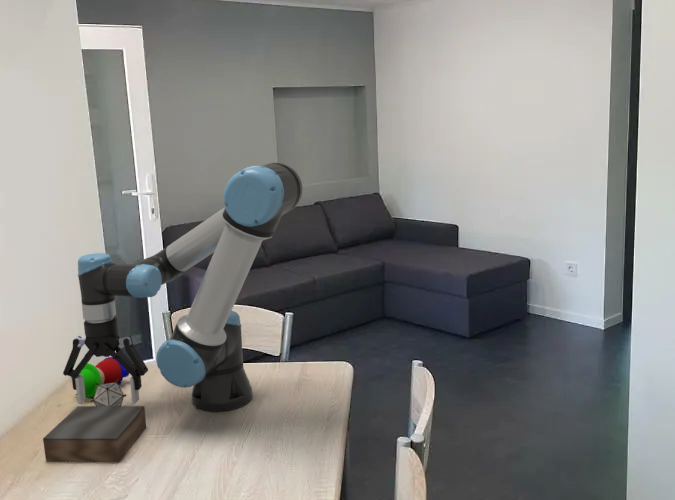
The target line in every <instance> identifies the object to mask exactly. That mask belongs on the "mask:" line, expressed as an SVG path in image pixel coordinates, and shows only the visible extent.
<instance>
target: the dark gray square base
mask: <svg viewBox="0 0 675 500" xmlns="http://www.w3.org/2000/svg"><path fill="white" fill-rule="evenodd" d="M146 429H147V418H146V409H145V405H143V406H142V405H135V406H134V405H128V406H127V405H121V406H96V405H93V406H91V405H90V406H89V405H88V406H86V405H85V406H84V405H83V406H79V405H78V406H76V407H75V408H74V409H73V410H72V411H71V412H70V413H69V414H68V415H66V417H64V418H63V419H62V420H61V421H59V423H58V424H57V425H56V426H55V427H54V428H53V429H51V431H49V432H48V433H47V434H46V435H45V436H44V437H43V438H42V441H43V448H44V449H43V450H44V457H45V463H121V461H122V460H123V459H124V458H125V456H126V455H127V454H128V452H129V451H130V450H131V448H133V446H134V445H135V443H136V442H137V441H138V440H139V438H140V437H141V436H142V434H143V433H144V432H145V430H146Z"/></svg>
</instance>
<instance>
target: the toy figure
mask: <svg viewBox="0 0 675 500" xmlns="http://www.w3.org/2000/svg"><path fill="white" fill-rule="evenodd" d="M79 375H83V378H84V387H85V396H86V399H87V398H88V399H90V400H92V399H94V395H95V392H96V389H97V385H96V383H98V385H101V384H107V383H114V382H116V381H117V379H118V380H119V381H118V382H117V383H118V385H119V386H120V385H121V383H122V382H123V379H124V378H126V377H127V378H128V376H129V375H130V373H129V372H128V371H127V370H126V369H125V368H124V367H123V366H122V365H121V364H120V363H119V362H118V361H117V360H116V359H114V358H113V357H112V356H109V357H106V358H104V359H103V360H101V361H100V362H98V363H97V364H96V365H93V363H89V362H88V363H87V364H86V366H85V367H84V368H83V370H82V371H81V373H80V374H79ZM74 395H76V396H77V393H76V394H74Z"/></svg>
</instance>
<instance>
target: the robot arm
mask: <svg viewBox="0 0 675 500" xmlns="http://www.w3.org/2000/svg"><path fill="white" fill-rule="evenodd" d="M303 188H304V187H303V183H302V179H301V176H300V175H299V174H298V172H297V171H296V170H295V169H294V168H293V167H291V166H290V165H288V164H285V163H282V162H270V163H266V164H263V165H252V166H248V167H245V168H244V169H241V170H240V171H238V172H236V173H235V174H233V176H231V178H230V179H229V180H228V182H227V184H226V185H225V188H224V191H223V204H224V207H223V208H221V209H220V210H218V211H217V212H215V213H214V214H213V215H211V216H210V217H208V218H207V219H206V220H203V221H202V222H201V223H200V224H198V225H197V226H195V227H194V228H192V229H191V230H190V231H188V232H186V233H185V234H183V235H182V236H180V237H179V238H178V239H176V240H175V241H173V242H171V244H169V245H168V246H166V247H164V248H163V249H162V250H160V251H159V252H156V254H153V255H151V256H149V257H146V258H143V259H141V260H139V261H136V262H133V263H132V262H131V263H112V261H113V260H112V258H111V255H110V254H108V253H104V252H99V253H98V252H95V253H88V254H85V255H84V254H83V255H82V256H79V258H78V261H77V272H78V274H77V277H78V282H79V283H78V285H79V289H80V297H81V308H82V309H81V311H82V319H83V320H84V321H83V328H84V335H85V338H82V336H81V335H78V336H77V337H76V338H74V339H73V340H72V349H71V352H70V354H69V357H68V359H67V362H66V364H65V366H64V370H63V372H62V374H63V376H65V377H66V376H68V377H70V378H71V384H72V389H73V390H74V391H76V394H77V395H76V396H77V405H81V404H83V403H84V402H85V401H86V400H87V398H86V396H85V387H84V378H83V375H79V374H80V373H81V371H82V370H83V368H84V367H85V366H86V364H87V363H88V364H89V362H90V360H91V359H92V358H93V356H95V357H96V358H99V357H106V358H108V357H113V358H114V359H116V360H117V361H118V362H119V363H120V364H121V365H122V366H123V367H124V368H125V369H126V370H127V371H128V372H129V375H130V376H131V377H130V378H129V383H130V384H129V385H130V395H131V404H132V405H136V404H137V403H138V402H139V401H140V393H139V392H140V389H141V388H142V376H145V375H146V373H147V372H148V371H149V369H148V367H147V365H146V364H145V362H144V360H143V358H142V357H141V355H140V354H139V351H138V349H137V348H136V347H135V345H134V342H133V337H132V336H131V335H129V336H128V335H127V336H126V337H121V338H120V336H119V327H118V318H117V317H116V316H117V309H116V297H126V298H136V299H137V298H139V299H143V298H153V297H155V296H156V295H158V292H159V291H160V290H161V287H162V286H163V285H165V284H167V283H170V282H173V281H175V280H176V279H179V278H180V276H182V275H183V273H185V272H186V271H188V270H189V269H191V268H192V267H194V266H195V265H197V264H198V263H200V262H201V261H203V260H205V259H206V258H207V257H209V256H211V255H212V257H211V259H210V261H209V264H208V266H207V269H206V271H205V273H204V275H203V278H202V280H201V282H200V285H199V288H198V290H197V292H196V295H195V297H194V299H193V301H192V304H191V307H190V309H189V311H188V313H187V314H185V315H182V316H181V317H179V318H178V320H177V322H176V324H175V327H174V330H172V334H171V336H170V338H169V339H168V340H166V341H164V342H163V343H162V344H161V345H160V346H159V347H158V350H157V352H156V358H155V359H156V365H157V368H158V369H159V370H160V371H159V373H160V374H161V376H162V377H163V378H164V379H165V381H167V382H168V383H169V384H170V385H172V386H174V387H178V388H183V389H184V388H191V387H192V389H191V390H192V391H191V404H192V406H193V407H194V408H195V409H198V410H201V411H204V412H205V411H206V412H224V411H231V410H235V409H238V408H242V407H243V406H245V405H247V404H248V403H250V402H251V400H252V398H253V389H252V385H251V383H250V380H249V378H248V375H247V372H246V371H245V368H244V354H243V353H244V352H243V340H242V339H243V337H242V324H241V317H240V315H239V313H238V312H235V311H234V310H233V308H234V306H235V304H236V301H237V299H238V297H239V294H240V292H241V291H242V288H243V285H244V283H245V281H246V279H247V277H248V276H249V275H248V274H249V272H250V270H251V268H252V266H253V264H254V261H255V259H256V257H257V255H258V252H259V250H260V248H261V246H262V243H263V241H266V240H269V239H272V238H273V236H274V234H275V231H276V229H277V227H278V225H279V223H280V220H281V218H282V216H283V215H286V214H287V213H289V212H291V211H292V210H294V209H295V208H297V206H298V205H299V203H300V202H301V199H302V197H303V190H304V189H303ZM84 345H85V346H86V347H87V349H88V351H87V352H86V353H85V354H84V357H83V358H82V359H81V360H80V361H79V363H78V364H77V365H76V362H77V360H78V358H79V354H80V352H81V349H82V347H83V346H84ZM120 345H121V346H122V348H124V351H125V352H126V353H127V355H128V356H129V357H128V356H127V355H126V353H124V351H123V349H122V348H121V347H120ZM75 365H76V367H75ZM74 367H75V369H74Z"/></svg>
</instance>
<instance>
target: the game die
mask: <svg viewBox="0 0 675 500" xmlns="http://www.w3.org/2000/svg"><path fill="white" fill-rule="evenodd" d="M118 381H119V380H118V379H117V381H116V382H114V383H107V384H101V385H98V383H96V385H97V389H96V392H95V395H94V399H90V400H89V402H90V403H93V404H94V406H123V402H124V401H123V400H124V398H126V397H127V396H128V394H125V393H124V392H123V391H122V388H121V387H120V384H119V385H118V383H117V382H118Z"/></svg>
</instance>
